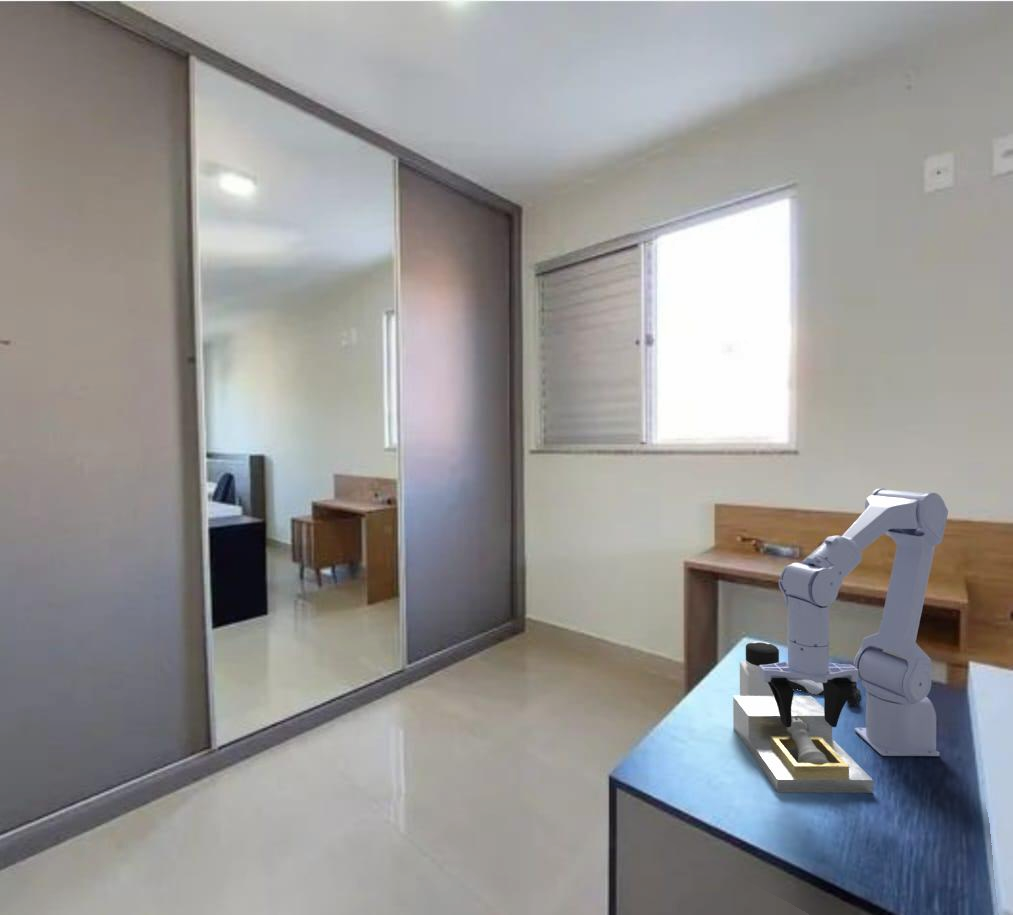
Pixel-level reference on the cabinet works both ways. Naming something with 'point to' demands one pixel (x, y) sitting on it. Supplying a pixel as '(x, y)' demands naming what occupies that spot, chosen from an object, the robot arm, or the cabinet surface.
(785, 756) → the white stepped block
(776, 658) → the medicine bottle
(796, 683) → the computer mouse
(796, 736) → the rook chess piece
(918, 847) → the cabinet surface
